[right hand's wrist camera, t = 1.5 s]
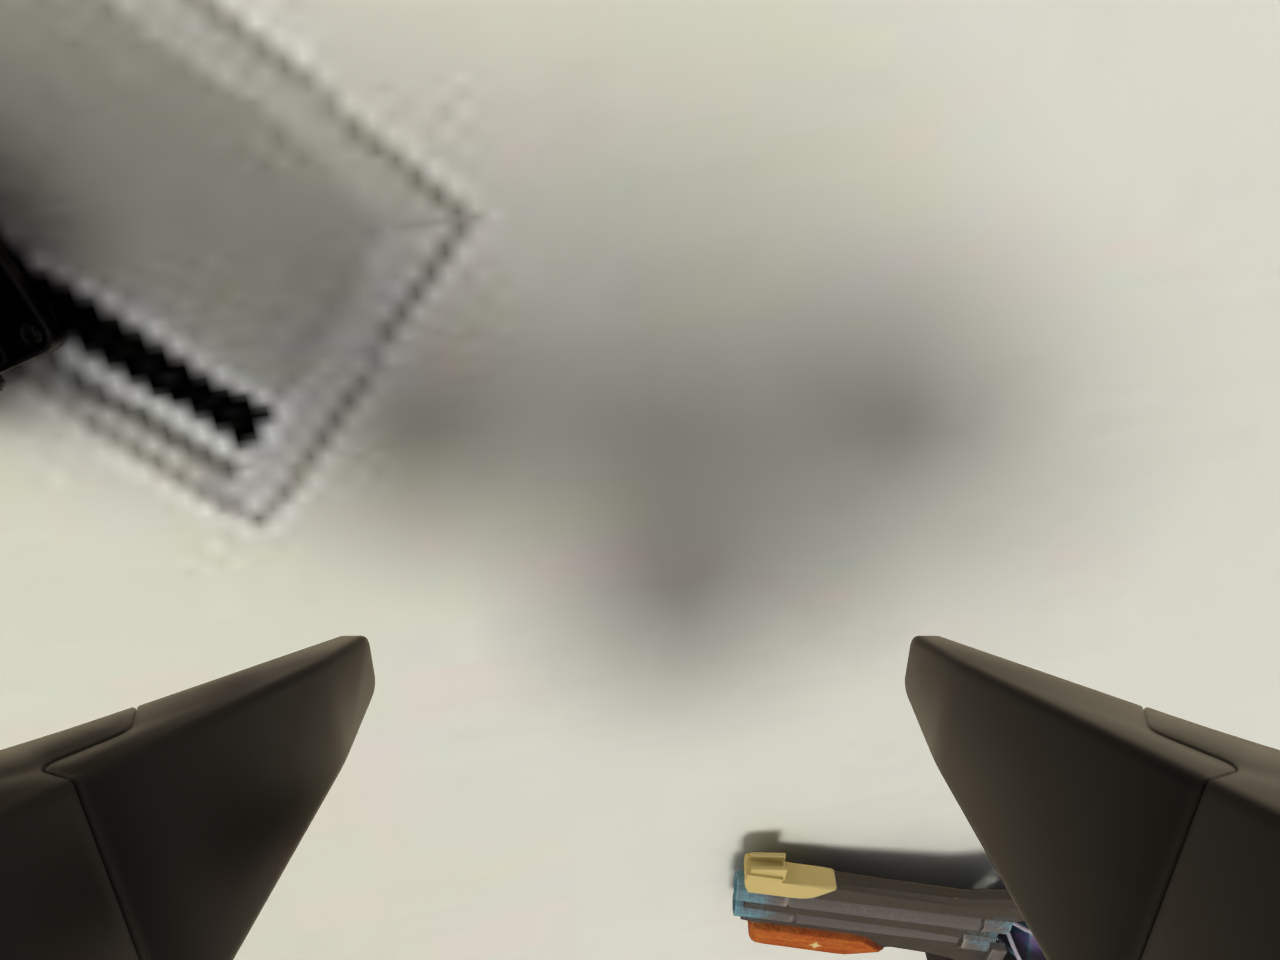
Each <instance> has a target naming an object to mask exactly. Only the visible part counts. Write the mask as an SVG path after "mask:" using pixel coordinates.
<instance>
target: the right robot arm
mask: <svg viewBox="0 0 1280 960" xmlns="http://www.w3.org/2000/svg"><path fill="white" fill-rule="evenodd" d="M34 328H37V329H38V330H39V331H40V333H41V335H42V341H41V340H39V339H38V338H37V337H36V335H35V332H34ZM62 340H63V339H62V332H61V330H60V328H59V326H58V324H57V323H56V322H55V320H54V319H53V317H52V316H51V314H50V313H49V311H48V310H47V308H46V307H45V306H44V304H43V303H42V301H41V300H40V298H39V297H38V295H37V294H36V292H35V291H34V290H33V288H32V287H31V285H30V284H29V282H28V281H27V279H26V278H25V276H24V275H23V273H22V272H21V271H20V269H19V268H18V266H17V265H16V263H15V262H14V260H13V259H12V257H11V256H10V255H9V253H8V252H7V250H6V249H5V247H4V246H3V244H2V243H1V241H0V374H3V373H5V372H7V371H9V370H11V369H14V368H16V367H18V366H20V365H23V364H25V363H27V362H29V361H32V360H34V359H36V358H38V357H40V356H43V355H45V354H47V353H49V352H52V351H54V350H56V349H57V348H58V347H60V345H61V343H62ZM4 384H5V380H4V379H3V378H2V376H1V375H0V392H1V391H2V389H3V387H4ZM374 687H375V675H374V669H373V663H372V657H371V651H370V645H369V642H368V640H367V638H366V637H364V636H340V637H337V638H334V639H332V640H329V641H326V642H323V643H320V644H317V645H314V646H311V647H308V648H306V649H303V650H300V651H297V652H294V653H291V654H288V655H285V656H282V657H279V658H277V659H274V660H271V661H268V662H265V663H262V664H259V665H256V666H253V667H250V668H248V669H245V670H242V671H239V672H236V673H233V674H230V675H227V676H224V677H222V678H219V679H216V680H213V681H210V682H207V683H204V684H201V685H198V686H195V687H193V688H190V689H187V690H184V691H181V692H178V693H175V694H172V695H169V696H166V697H164V698H161V699H158V700H155V701H152V702H149V703H146V704H143V705H140V706H139V707H138V708H137V710H136V709H135V708H129V709H126V710H123V711H120V712H117V713H114V714H112V715H109V716H106V717H103V718H100V719H97V720H94V721H91V722H88V723H85V724H82V725H79V726H76V727H73V728H70V729H67V730H63V731H60V732H57V733H54V734H51V735H48V736H44V737H41V738H38V739H35V740H32V741H29V742H25V743H22V744H19V745H16V746H13V747H9V748H6V749H3V750H0V960H233V959H234V957H235V956H236V954H237V952H238V950H239V948H240V947H241V945H242V943H243V941H244V940H245V938H246V936H247V934H248V933H249V931H250V929H251V927H252V926H253V924H254V922H255V920H256V919H257V917H258V915H259V913H260V911H261V910H262V908H263V906H264V904H265V903H266V901H267V899H268V897H269V896H270V894H271V892H272V890H273V889H274V887H275V885H276V883H277V881H278V880H279V878H280V876H281V874H282V873H283V871H284V869H285V867H286V866H287V864H288V862H289V860H290V859H291V857H292V855H293V853H294V852H295V850H296V848H297V846H298V844H299V843H300V841H301V839H302V837H303V836H304V834H305V832H306V830H307V829H308V827H309V825H310V823H311V822H312V820H313V818H314V816H315V814H316V813H317V811H318V809H319V807H320V806H321V804H322V802H323V800H324V799H325V797H326V795H327V793H328V792H329V790H330V788H331V786H332V785H333V783H334V781H335V779H336V777H337V776H338V774H339V772H340V770H341V768H342V766H343V764H344V763H345V760H346V758H347V756H348V754H349V752H350V749H351V747H352V744H353V742H354V739H355V737H356V735H357V732H358V730H359V727H360V725H361V722H362V720H363V718H364V715H365V713H366V710H367V708H368V705H369V703H370V701H371V698H372V696H373V692H374ZM905 687H906V692H907V696H908V698H909V701H910V703H911V705H912V708H913V710H914V713H915V715H916V718H917V720H918V722H919V725H920V727H921V730H922V732H923V735H924V737H925V739H926V742H927V744H928V747H929V749H930V752H931V754H932V756H933V758H934V760H935V763H936V764H937V766H938V768H939V770H940V772H941V774H942V776H943V777H944V779H945V781H946V783H947V784H948V786H949V788H950V790H951V792H952V793H953V795H954V797H955V799H956V800H957V802H958V804H959V806H960V807H961V809H962V811H963V813H964V814H965V816H966V818H967V820H968V822H969V823H970V825H971V827H972V829H973V830H974V832H975V834H976V836H977V837H978V839H979V841H980V843H981V844H982V846H983V848H984V850H985V851H986V853H987V855H988V857H989V859H990V860H991V862H992V864H993V866H994V867H995V869H996V871H997V873H998V874H999V876H1000V878H1001V880H1002V881H1003V883H1004V885H1005V887H1006V889H1007V890H1008V892H1009V894H1010V896H1011V897H1012V899H1013V901H1014V903H1015V904H1016V906H1017V908H1018V910H1019V911H1020V913H1021V915H1022V917H1023V918H1024V920H1025V922H1026V924H1027V926H1028V927H1029V929H1030V931H1031V933H1032V934H1033V936H1034V938H1035V940H1036V941H1037V943H1038V945H1039V947H1040V948H1041V950H1042V952H1043V954H1044V956H1045V957H1046V959H1047V960H1280V750H1277V749H1274V748H1271V747H1267V746H1264V745H1261V744H1258V743H1255V742H1251V741H1248V740H1245V739H1242V738H1239V737H1236V736H1232V735H1229V734H1226V733H1223V732H1220V731H1217V730H1213V729H1210V728H1207V727H1204V726H1201V725H1198V724H1195V723H1192V722H1189V721H1186V720H1183V719H1180V718H1177V717H1174V716H1171V715H1168V714H1166V713H1163V712H1160V711H1157V710H1154V709H1151V708H1145V709H1144V710H1143V708H1142V707H1141V706H1140V705H1137V704H1134V703H1131V702H1128V701H1125V700H1122V699H1119V698H1116V697H1114V696H1111V695H1108V694H1105V693H1102V692H1099V691H1096V690H1093V689H1090V688H1087V687H1085V686H1082V685H1079V684H1076V683H1073V682H1070V681H1067V680H1064V679H1061V678H1058V677H1056V676H1053V675H1050V674H1047V673H1044V672H1041V671H1038V670H1035V669H1032V668H1030V667H1027V666H1024V665H1021V664H1018V663H1015V662H1012V661H1009V660H1006V659H1003V658H1001V657H998V656H995V655H992V654H989V653H986V652H983V651H980V650H977V649H974V648H972V647H969V646H966V645H963V644H960V643H957V642H954V641H951V640H948V639H946V638H943V637H940V636H916V637H914V638H913V640H912V642H911V645H910V651H909V657H908V663H907V669H906V675H905Z"/></svg>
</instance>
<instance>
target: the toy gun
mask: <svg viewBox="0 0 1280 960" xmlns="http://www.w3.org/2000/svg"><path fill="white" fill-rule="evenodd" d="M785 858H786V853H766V852H750V853H746V854H745V858H744V871H736V872H735V877H734V892H733V914H734V915H735V916H741V919H743V920H748V930H749V936H750V938H751V940H753V941H755V942H758V943H764V944H771V945H778V946H786V947H793V948H800V949H808V950H815V951H822V952H829V953H838V954H855V953H870V952H879V951H880V950H882V949H883V948H884V947H897V948H903V949H909V950H915V951H922V952H925V953H926V957H927V960H1047V959H1046V957H1045V956H1044V954H1043V952H1042V950H1041V948H1040V947H1039V945H1038V943H1037V941H1036V940H1035V938H1034V936H1033V934H1032V933H1031V931H1030V929H1029V927H1028V926H1027V924H1026V922H1025V920H1024V918H1023V917H1022V915H1021V913H1020V911H1019V910H1018V908H1017V906H1016V904H1015V903H1014V901H1013V899H1012V897H1011V896H1010V894H1009V892H1008V890H1007V889H959V888H952V887H945V886H938V885H931V884H924V883H917V882H910V881H903V880H896V879H889V878H882V877H875V876H868V875H861V874H854V873H846V872H841V871H835V870H833V869H832V868H826V867H820V866H813V865H805V864H797V863H791V862H785ZM996 938H998V940H997V939H996Z"/></svg>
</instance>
